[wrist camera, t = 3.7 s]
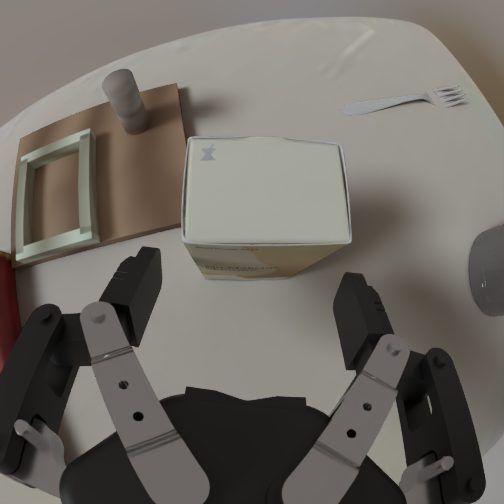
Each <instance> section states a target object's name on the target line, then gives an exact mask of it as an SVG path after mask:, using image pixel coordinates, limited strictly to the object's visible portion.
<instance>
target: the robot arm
mask: <svg viewBox="0 0 504 504" xmlns="http://www.w3.org/2000/svg"><path fill="white" fill-rule="evenodd" d="M469 277H470V284H471V288H472V292H473V295H474V298H475V300H476V302H477V304H478V306H479V307H480V309H481V310H482V311H483V312H484V313H486V314H488V315H489V316H504V224H503V225H501V226H498V227H496V228H493V229H490V230H488V231H485V232H483V233H481V234H480V235H479V236H478V237H477V238H476V240H475V241H474V244H473V246H472V249H471V253H470V260H469ZM161 285H162V268H161V252H160V249H159V248H152V247H144V246H143V247H142V248H141V249H140V251H139V252H138V254H137V256H136V257H132V256H130V257H128V258H127V259H126V260H124V261H123V262H122V263H121V264H120V266H119V267H118V269H117V270H116V272H115V274H114V275H113V278H112V279H111V280H110V282H109V284H108V285H107V287H106V289H105V291H104V292H103V294H102V296H101V297H100V299H99V301H98V302H93V303H91V304H89V305H87V306H86V307H85V308H84V309H83V310H82V312H81V313H76V314H62V313H61V311H60V309H59V307H58V306H56V305H54V304H44V305H41V306H39V307H38V308H36V309H35V310H34V311H33V313H32V314H31V316H30V318H29V319H28V321H27V323H26V325H25V326H24V328H23V330H22V332H21V333H20V335H19V337H18V339H17V341H16V343H15V344H14V346H13V348H12V350H11V352H10V354H9V356H8V358H7V360H6V362H5V364H4V366H3V368H2V370H1V373H0V473H1V474H2V475H4V476H6V477H8V478H10V479H12V480H14V481H16V482H18V483H22V484H24V485H26V486H28V487H31V488H38V489H40V490H42V491H44V492H47V493H49V494H51V495H53V496H56V497H58V498H61V502H62V504H471V503H473V502H476V501H477V500H478V499H480V497H481V496H482V495H483V493H484V490H485V486H486V480H485V474H484V469H483V463H482V458H481V454H480V449H479V445H478V441H477V437H476V433H475V429H474V425H473V422H472V418H471V415H470V411H469V408H468V405H467V401H466V398H465V395H464V392H463V389H462V386H461V383H460V380H459V377H458V375H457V372H456V369H455V366H454V364H453V361H452V359H451V357H450V356H449V354H448V353H447V352H445V351H444V350H442V349H440V348H431V349H430V350H429V351H428V352H427V353H426V355H424V354H420V353H417V352H413V351H410V349H409V346H408V344H407V343H406V342H405V341H404V340H403V339H402V338H401V337H399V336H397V335H394V332H393V329H392V327H391V324H390V322H389V319H388V316H387V314H386V312H385V309H384V306H383V305H382V301H381V299H380V297H379V294H378V293H377V292H376V291H375V290H374V289H373V288H372V286H367V283H366V281H365V278H364V276H363V274H358V273H349V272H346V273H345V274H344V276H343V278H342V281H341V283H340V286H339V288H338V291H337V293H336V296H335V299H334V303H333V312H334V316H335V320H336V325H337V329H338V334H339V338H340V343H341V348H342V352H343V357H344V362H345V367H346V370H356V376H355V377H354V379H353V380H352V382H351V384H350V385H349V387H348V388H347V390H346V391H345V393H344V394H343V396H342V397H341V399H340V400H339V402H338V403H337V405H336V406H335V408H334V409H333V411H332V412H331V413H330V415H329V416H328V415H326V414H325V413H323V412H321V411H319V410H317V409H315V408H312V407H310V406H306V397H281V396H276V397H270V398H264V399H257V400H250V401H246V400H242V399H239V398H236V397H233V396H230V395H227V394H224V393H221V392H218V391H215V390H207V389H200V388H194V387H187V386H186V391H185V394H180V395H174V396H170V397H167V398H164V399H162V400H158V398H157V397H156V395H155V393H154V391H153V389H152V387H151V385H150V383H149V381H148V379H147V377H146V375H145V373H144V371H143V369H142V367H141V365H140V363H139V361H138V359H137V357H136V354H135V352H134V350H133V348H132V347H130V346H134V347H139V345H140V342H141V339H142V337H143V334H144V331H145V328H146V326H147V323H148V321H149V318H150V315H151V313H152V310H153V308H154V305H155V302H156V300H157V297H158V295H159V292H160V290H161ZM80 366H92V368H93V371H94V374H95V377H96V380H97V383H98V385H99V388H100V391H101V394H102V396H103V399H104V401H105V404H106V407H107V409H108V411H109V414H110V416H111V419H112V421H113V423H114V426H115V428H116V430H117V431H116V432H114V433H113V434H112V435H110V436H109V437H107V438H106V439H104V440H103V441H102V442H100V443H99V444H97V445H96V446H94V447H93V448H91V449H90V450H89V451H87V452H86V453H84V454H83V455H81V456H80V457H78V458H77V459H75V460H74V461H72V462H71V463H70V464H69V465H68V466H67V467H66V465H65V462H64V446H63V443H62V441H61V439H60V438H59V436H57V433H58V430H59V426H60V423H61V420H62V416H63V413H64V410H65V407H66V404H67V401H68V398H69V395H70V392H71V389H72V386H73V383H74V380H75V377H76V375H77V372H78V369H79V367H80ZM428 395H429V398H430V402H431V406H432V415H431V412H430V408H429V404H428V400H427V396H428ZM395 399H396V403H397V408H398V413H399V419H400V424H401V430H402V436H403V442H404V449H405V456H406V464H407V468H406V469H405V470H404V472H403V474H402V477H401V481H400V482H399V486H398V485H397V484H396V483H395V482H394V481H393V480H392V479H391V478H390V477H389V476H388V475H387V474H386V473H385V472H384V471H383V470H382V469H381V468H380V467H378V466H377V465H376V464H375V463H374V462H373V461H372V460H371V459H370V458H369V457H368V456H367V453H368V451H369V449H370V448H371V446H372V444H373V442H374V440H375V439H376V437H377V435H378V433H379V431H380V429H381V427H382V425H383V423H384V421H385V419H386V417H387V415H388V413H389V411H390V409H391V407H392V405H393V403H394V400H395Z"/></svg>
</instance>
